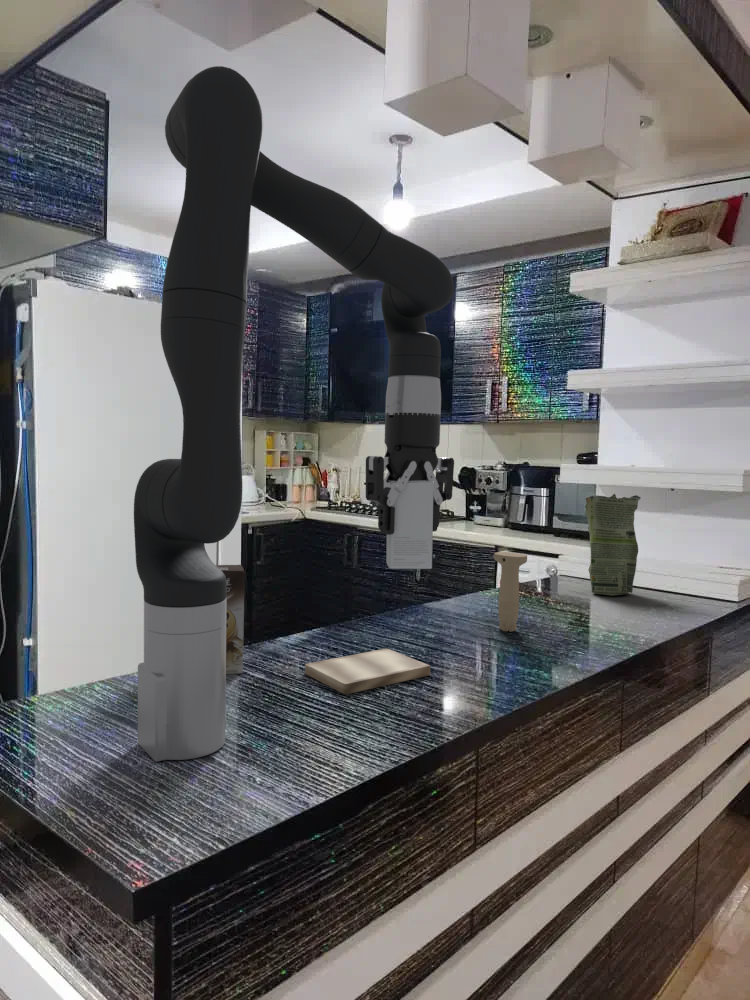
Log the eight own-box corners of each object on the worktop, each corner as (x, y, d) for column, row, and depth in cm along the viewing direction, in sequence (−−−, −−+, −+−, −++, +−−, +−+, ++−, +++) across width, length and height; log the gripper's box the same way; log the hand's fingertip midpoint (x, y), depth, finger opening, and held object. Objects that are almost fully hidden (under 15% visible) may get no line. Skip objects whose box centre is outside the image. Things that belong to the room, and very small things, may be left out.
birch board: (345, 694, 100) (345, 684, 100) (305, 673, 109) (305, 663, 109) (430, 675, 110) (430, 665, 110) (387, 657, 119) (387, 648, 119)
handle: (515, 635, 134) (518, 557, 133) (486, 629, 139) (489, 553, 138) (528, 631, 138) (531, 555, 137) (500, 625, 142) (503, 551, 141)
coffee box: (182, 677, 106) (182, 571, 105) (182, 664, 112) (182, 564, 111) (244, 674, 108) (245, 569, 107) (240, 661, 114) (241, 562, 113)
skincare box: (427, 564, 100) (430, 479, 99) (432, 570, 96) (436, 481, 95) (384, 564, 100) (386, 478, 99) (387, 569, 95) (390, 480, 94)
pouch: (578, 592, 177) (582, 493, 175) (597, 586, 186) (602, 491, 184) (622, 599, 170) (627, 496, 168) (639, 592, 179) (645, 494, 177)
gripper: (434, 415, 103) (430, 527, 105) (353, 409, 95) (350, 532, 96) (470, 414, 97) (465, 533, 99) (388, 408, 89) (384, 538, 90)
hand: (409, 532), depth 97 cm, fingers closed on skincare box, 7 cm apart
